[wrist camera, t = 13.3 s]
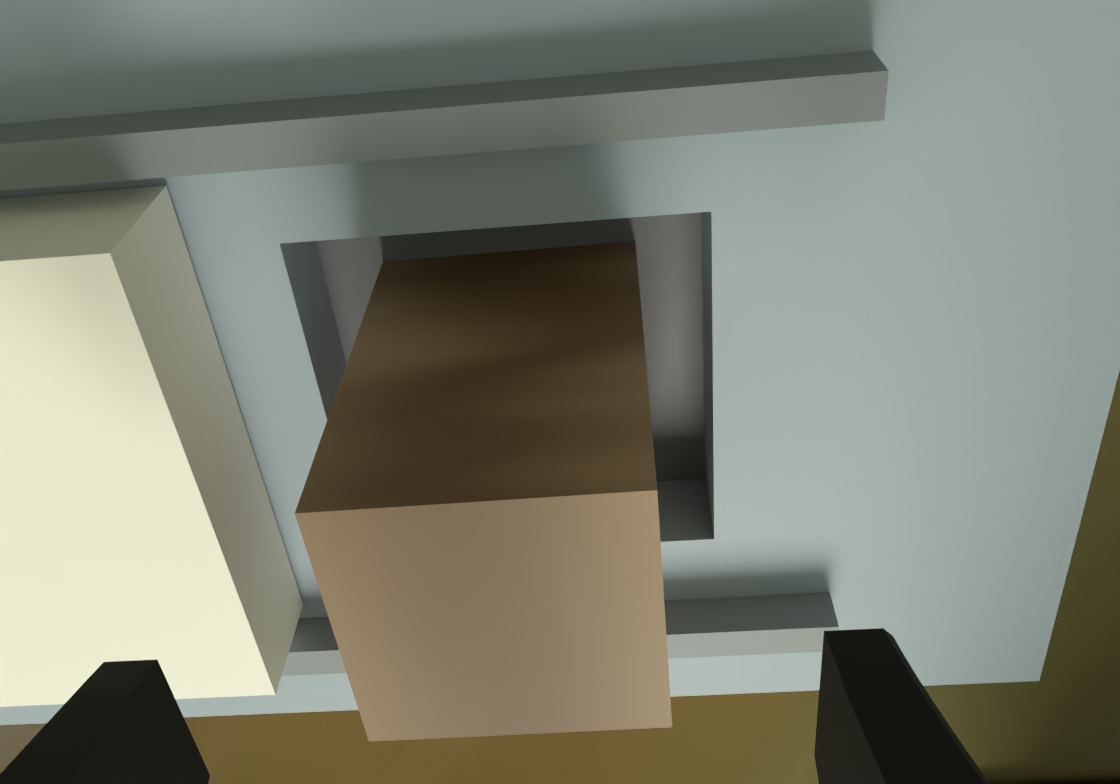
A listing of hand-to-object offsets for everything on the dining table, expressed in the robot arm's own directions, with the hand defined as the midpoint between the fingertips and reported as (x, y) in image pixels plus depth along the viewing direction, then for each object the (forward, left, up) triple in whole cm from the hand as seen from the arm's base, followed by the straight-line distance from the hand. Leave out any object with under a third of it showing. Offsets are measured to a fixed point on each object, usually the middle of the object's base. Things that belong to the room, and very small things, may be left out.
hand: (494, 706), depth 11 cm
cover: (+8, 0, -6) cm, 10 cm away
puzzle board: (+2, 0, -8) cm, 8 cm away
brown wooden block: (0, 0, -7) cm, 7 cm away
